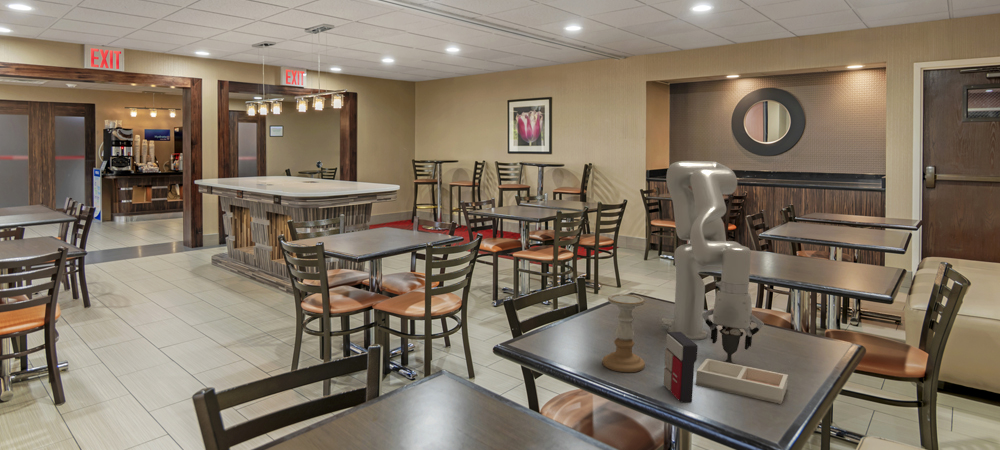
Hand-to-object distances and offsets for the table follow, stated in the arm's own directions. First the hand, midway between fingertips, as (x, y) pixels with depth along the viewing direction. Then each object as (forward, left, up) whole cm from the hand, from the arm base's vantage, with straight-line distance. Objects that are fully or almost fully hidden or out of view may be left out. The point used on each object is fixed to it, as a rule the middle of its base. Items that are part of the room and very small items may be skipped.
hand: (730, 345), depth 168 cm
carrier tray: (+6, -15, -6) cm, 17 cm away
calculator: (-7, -29, -6) cm, 30 cm away
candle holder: (-26, -18, -6) cm, 32 cm away
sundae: (0, 0, -6) cm, 6 cm away
